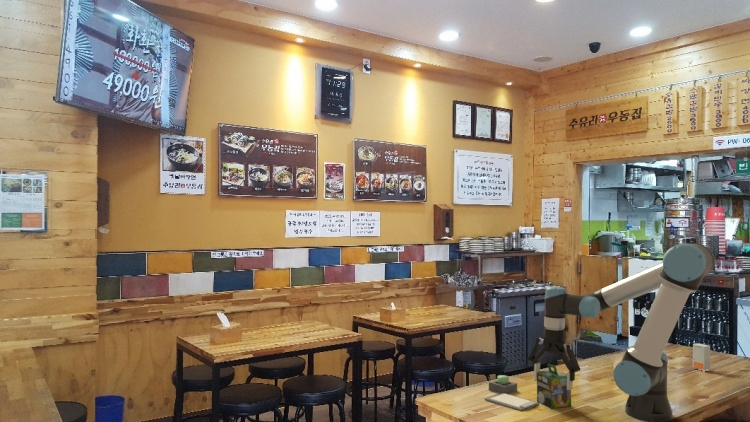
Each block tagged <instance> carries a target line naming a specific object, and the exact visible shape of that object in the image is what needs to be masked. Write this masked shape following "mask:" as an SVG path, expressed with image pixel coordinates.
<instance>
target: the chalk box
mask: <svg viewBox="0 0 750 422" xmlns="http://www.w3.org/2000/svg"><path fill="white" fill-rule="evenodd" d="M547 367H548V370H546V369H545V370H540V371H539V372H537V381H536V402H538V403H539V404H541V405H544V406H546V407H547V408H550V409H551V410H552V409H558V408H564V407H572V389H571V390H567V372H563V371H560V370H557V367H556V365H554V364H551V363H548V362H547Z"/></svg>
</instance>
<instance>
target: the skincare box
mask: <svg viewBox="0 0 750 422" xmlns="http://www.w3.org/2000/svg"><path fill="white" fill-rule="evenodd" d="M693 367H694V368H698V369H703V370H706V369H710V370H711V346H710V345H708V344H703V343H698V342H697V343H693V344H692V368H693Z"/></svg>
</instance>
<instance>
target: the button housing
mask: <svg viewBox="0 0 750 422" xmlns="http://www.w3.org/2000/svg"><path fill="white" fill-rule="evenodd" d="M488 390H489V391H491V392H495V393H497V394H500V393H507V394H512V393H515V392H518V382H514V381H513V382H512V381H510V380H509V384H508V385H505V386H504V385H501V384H497V379H496V380H493V381H492V380H491V381H490V382H488Z"/></svg>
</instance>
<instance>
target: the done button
mask: <svg viewBox="0 0 750 422" xmlns="http://www.w3.org/2000/svg"><path fill="white" fill-rule="evenodd" d="M509 378H510V377H509V376H508V375H505V374H503V375H502V374H499V375H497V379H496V380H497V384H501V385H504V386H505V385H508V384H509V381H510V379H509Z"/></svg>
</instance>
